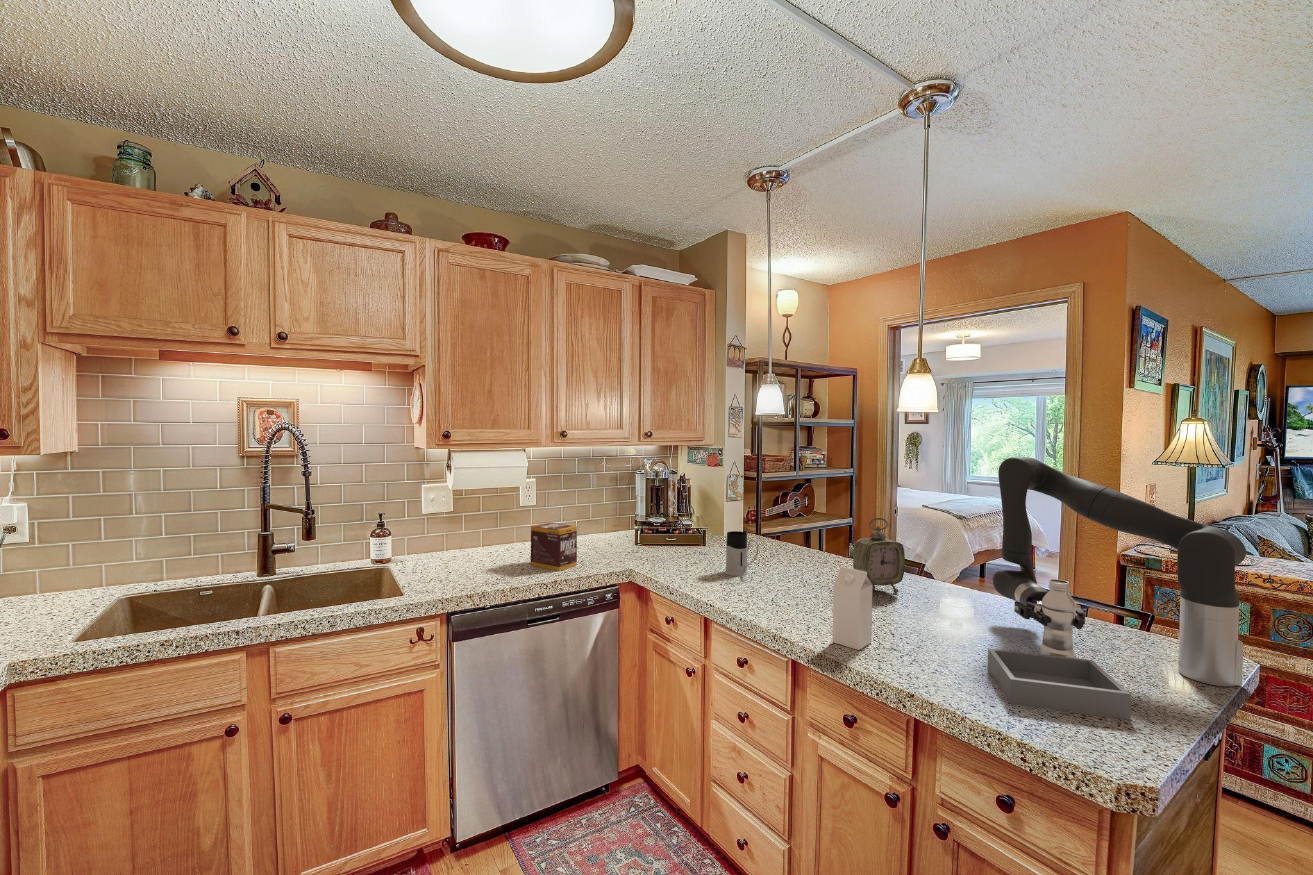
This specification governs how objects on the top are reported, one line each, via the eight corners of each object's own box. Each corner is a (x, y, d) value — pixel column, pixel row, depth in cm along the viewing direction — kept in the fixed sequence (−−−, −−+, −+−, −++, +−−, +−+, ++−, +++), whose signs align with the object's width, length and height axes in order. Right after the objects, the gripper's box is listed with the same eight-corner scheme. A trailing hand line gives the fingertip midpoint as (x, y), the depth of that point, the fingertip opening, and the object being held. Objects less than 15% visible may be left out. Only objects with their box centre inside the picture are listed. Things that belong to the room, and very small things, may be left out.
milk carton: (845, 635, 146) (846, 564, 146) (871, 643, 141) (872, 569, 141) (832, 642, 141) (833, 568, 141) (858, 650, 136) (860, 574, 136)
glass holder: (734, 568, 214) (735, 529, 213) (765, 576, 203) (765, 535, 203) (720, 572, 208) (720, 532, 207) (750, 580, 197) (750, 538, 197)
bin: (1091, 682, 120) (1092, 659, 120) (1130, 720, 105) (1130, 694, 105) (987, 669, 126) (988, 648, 126) (1010, 703, 111) (1010, 679, 111)
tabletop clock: (864, 597, 179) (866, 520, 179) (849, 588, 188) (850, 515, 188) (904, 594, 182) (905, 519, 182) (887, 586, 191) (888, 514, 191)
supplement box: (559, 571, 207) (559, 530, 207) (530, 565, 216) (530, 525, 215) (577, 565, 216) (577, 526, 216) (548, 560, 224) (549, 521, 224)
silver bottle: (1040, 657, 133) (1042, 575, 132) (1076, 665, 129) (1077, 580, 128) (1038, 667, 128) (1039, 581, 127) (1074, 675, 124) (1076, 587, 123)
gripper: (1004, 583, 144) (1026, 603, 128) (1069, 588, 139) (1101, 610, 123) (1003, 612, 144) (1026, 635, 128) (1068, 618, 140) (1100, 643, 124)
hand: (1062, 623), depth 126 cm, fingers closed on silver bottle, 6 cm apart
